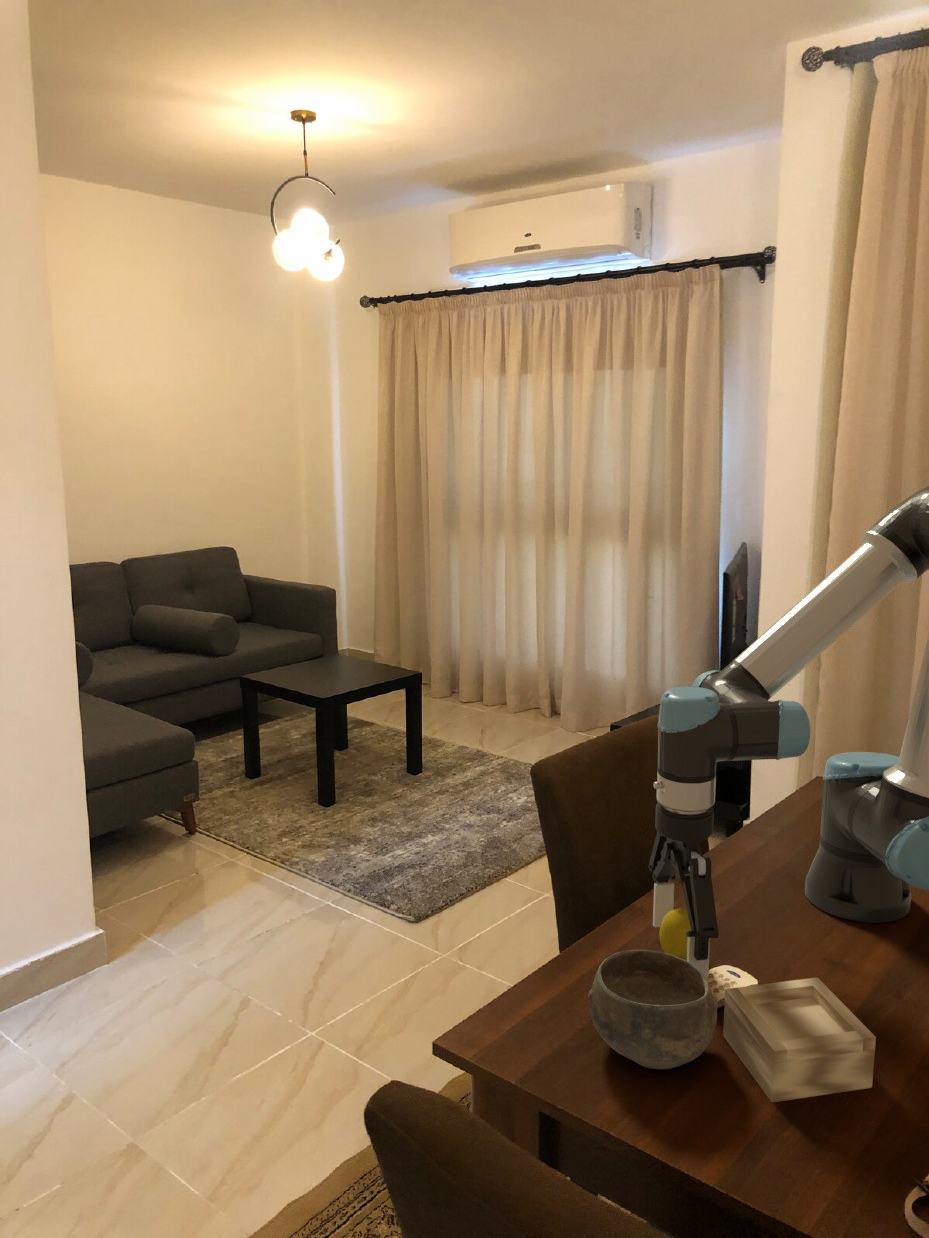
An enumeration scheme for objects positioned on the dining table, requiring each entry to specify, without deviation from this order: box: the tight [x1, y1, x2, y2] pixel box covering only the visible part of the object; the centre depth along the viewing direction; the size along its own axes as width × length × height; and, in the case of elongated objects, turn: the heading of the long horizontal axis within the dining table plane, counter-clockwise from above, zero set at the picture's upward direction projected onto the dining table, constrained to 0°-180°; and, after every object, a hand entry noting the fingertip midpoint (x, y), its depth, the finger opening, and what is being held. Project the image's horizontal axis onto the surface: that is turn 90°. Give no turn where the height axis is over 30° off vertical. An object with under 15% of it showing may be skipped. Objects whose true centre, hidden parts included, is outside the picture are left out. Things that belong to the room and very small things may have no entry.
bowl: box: [587, 949, 719, 1070], centre depth 114 cm, size 14×15×10 cm
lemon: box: [659, 907, 691, 961], centre depth 133 cm, size 6×6×8 cm
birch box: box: [722, 977, 877, 1103], centre depth 112 cm, size 12×12×6 cm
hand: (678, 950), depth 133 cm, fingers open, 13 cm apart
